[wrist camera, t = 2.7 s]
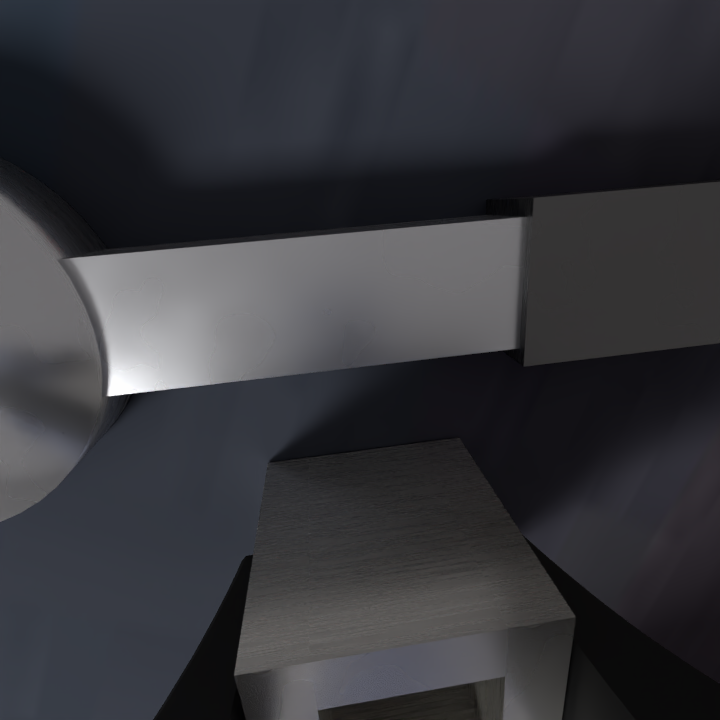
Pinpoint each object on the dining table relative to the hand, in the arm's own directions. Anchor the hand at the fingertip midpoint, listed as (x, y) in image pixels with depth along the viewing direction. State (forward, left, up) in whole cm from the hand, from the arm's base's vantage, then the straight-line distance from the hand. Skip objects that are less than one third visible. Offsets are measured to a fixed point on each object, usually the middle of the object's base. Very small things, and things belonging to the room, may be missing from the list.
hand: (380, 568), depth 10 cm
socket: (0, 0, -1) cm, 1 cm away
